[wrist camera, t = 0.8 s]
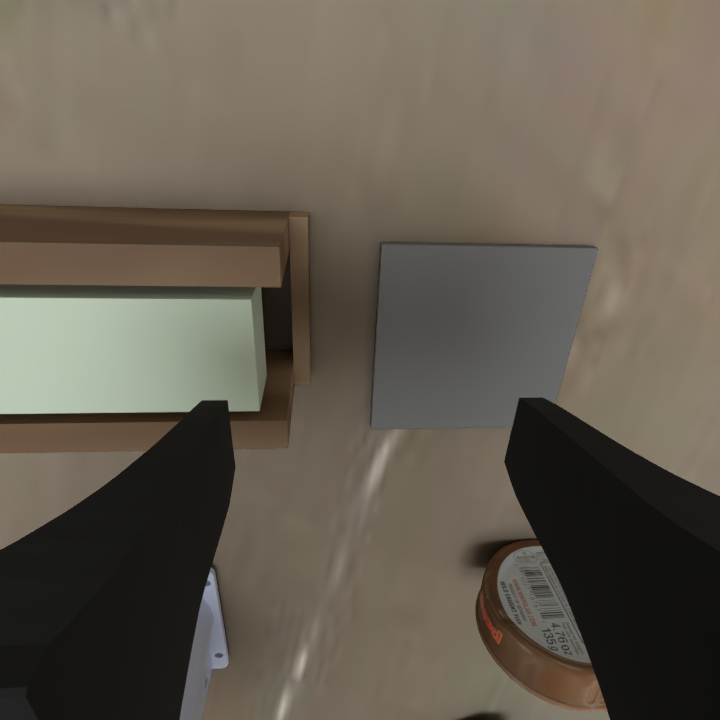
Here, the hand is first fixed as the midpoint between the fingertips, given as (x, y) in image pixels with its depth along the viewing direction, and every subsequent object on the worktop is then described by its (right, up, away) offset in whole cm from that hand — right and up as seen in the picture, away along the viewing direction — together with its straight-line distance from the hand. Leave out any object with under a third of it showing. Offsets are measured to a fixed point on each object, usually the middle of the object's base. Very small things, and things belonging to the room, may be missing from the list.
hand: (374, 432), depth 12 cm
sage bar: (-9, +3, +5) cm, 11 cm away
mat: (+5, +3, +10) cm, 11 cm away
